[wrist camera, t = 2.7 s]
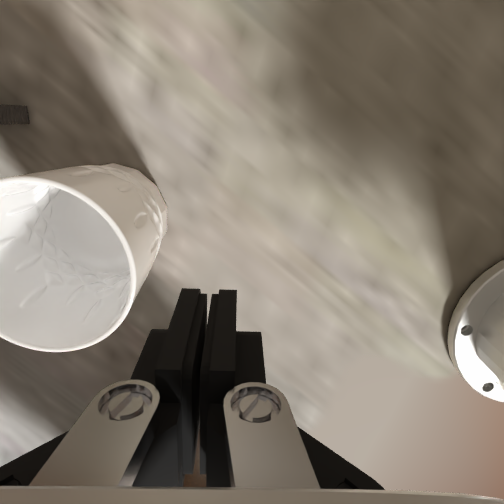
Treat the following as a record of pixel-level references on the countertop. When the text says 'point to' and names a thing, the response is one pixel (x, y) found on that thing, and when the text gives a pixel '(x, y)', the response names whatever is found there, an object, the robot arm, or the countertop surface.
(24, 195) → the white cup
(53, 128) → the countertop surface
